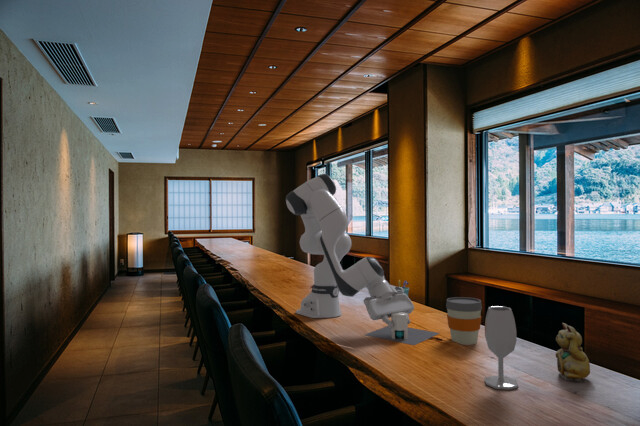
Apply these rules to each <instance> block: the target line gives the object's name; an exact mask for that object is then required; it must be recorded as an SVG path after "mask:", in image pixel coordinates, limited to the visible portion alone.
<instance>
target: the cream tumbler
mask: <svg viewBox="0 0 640 426" xmlns="http://www.w3.org/2000/svg"><path fill="white" fill-rule="evenodd" d="M390 321H393V323H394V326H393V327H392V328H391V338H392V339H395V336H396V331H397V330H398V331H403V333H404V335H403V336H404V339H405V340H406V339H408V327H409V324H408V321H407V313H404V312H398V313H393V314H391V317H390Z"/></svg>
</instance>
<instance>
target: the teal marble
mask: <svg viewBox="0 0 640 426" xmlns="http://www.w3.org/2000/svg"><path fill="white" fill-rule="evenodd" d="M403 335H404V333H403V331H398V330H397V331H396V336H397V337H398V338H402V337H403Z"/></svg>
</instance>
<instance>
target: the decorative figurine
mask: <svg viewBox="0 0 640 426" xmlns="http://www.w3.org/2000/svg"><path fill="white" fill-rule="evenodd" d="M561 325H562V327H563V329H561V330H559V331H558V334H557V335H556V337H555V342H557V345H559V347H561V348H560V349H558V350H557V351H556V353H555V358H556V366H557V371H558V372H559V375H560V376H561V377H562V378H563V379H564V380H565V381H574V382H585V381H584V379H585V378H588V377H589V375H590V374H591V365H590V359H589V358H588V356H587V354H586V353H585V352H584V351H583V347H582V346H581V345H582V344H583V337H582V335H581V334H580V333H579V332H578V331H577V330H576V329H575V328H574V327H573V326H571V325H568V324H567V323H564V322H561Z"/></svg>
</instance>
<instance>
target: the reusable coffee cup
mask: <svg viewBox="0 0 640 426" xmlns="http://www.w3.org/2000/svg"><path fill="white" fill-rule="evenodd" d="M482 305H483V304H482V300H481V299H479V298H475V297H467V296H466V297H465V296H463V297H462V296H460V297H459V296H455V297H447V299H446V303H445V307H446V310H447V314H446V318H447V325H448V328H449V331H450V338H451V339H450V340H451V341H452V342H454V343H457V344H458V345H462V346H463V345H465V346H472V345H476V344H477V343H478V340H479V331H480V330H481V324H482V315H481V312H482V310H483V306H482Z"/></svg>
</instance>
